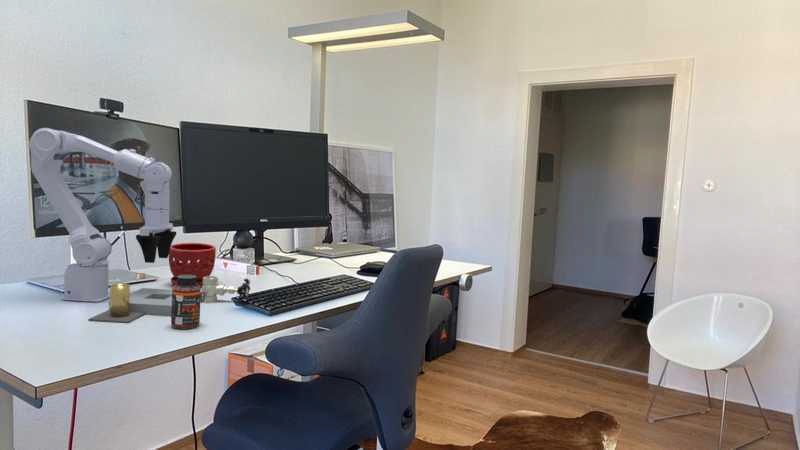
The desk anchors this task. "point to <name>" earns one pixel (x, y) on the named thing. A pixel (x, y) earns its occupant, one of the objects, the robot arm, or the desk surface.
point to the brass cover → (119, 299)
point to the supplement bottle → (185, 302)
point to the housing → (152, 301)
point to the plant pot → (191, 260)
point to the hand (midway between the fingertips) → (156, 260)
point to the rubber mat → (107, 318)
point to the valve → (220, 289)
